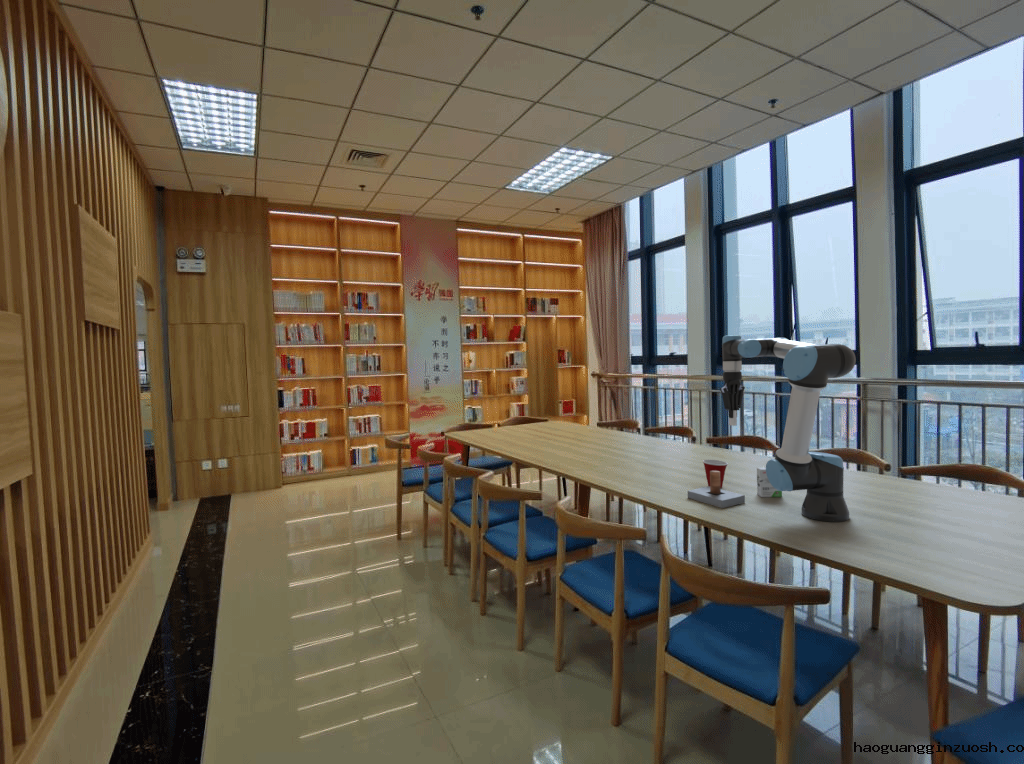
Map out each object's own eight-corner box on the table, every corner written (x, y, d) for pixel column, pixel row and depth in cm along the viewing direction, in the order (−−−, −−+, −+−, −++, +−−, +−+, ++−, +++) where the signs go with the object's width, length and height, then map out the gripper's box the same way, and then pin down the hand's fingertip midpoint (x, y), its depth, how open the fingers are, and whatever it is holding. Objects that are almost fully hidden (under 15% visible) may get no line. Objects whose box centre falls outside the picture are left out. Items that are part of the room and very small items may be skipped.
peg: (723, 500, 216) (722, 471, 216) (716, 502, 214) (715, 473, 214) (715, 498, 220) (714, 470, 219) (708, 499, 218) (707, 471, 217)
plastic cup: (732, 490, 231) (731, 463, 230) (707, 490, 232) (706, 463, 231) (724, 483, 242) (723, 458, 241) (700, 484, 243) (699, 458, 242)
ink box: (777, 494, 222) (777, 466, 222) (782, 497, 218) (782, 469, 217) (756, 494, 224) (756, 466, 223) (760, 497, 219) (760, 469, 218)
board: (744, 502, 212) (744, 495, 212) (722, 508, 206) (722, 500, 206) (709, 492, 228) (709, 486, 228) (687, 497, 222) (687, 490, 222)
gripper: (735, 370, 231) (736, 423, 233) (714, 371, 225) (715, 425, 227) (749, 370, 225) (750, 424, 226) (728, 371, 219) (729, 427, 220)
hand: (733, 425), depth 226 cm, fingers closed
